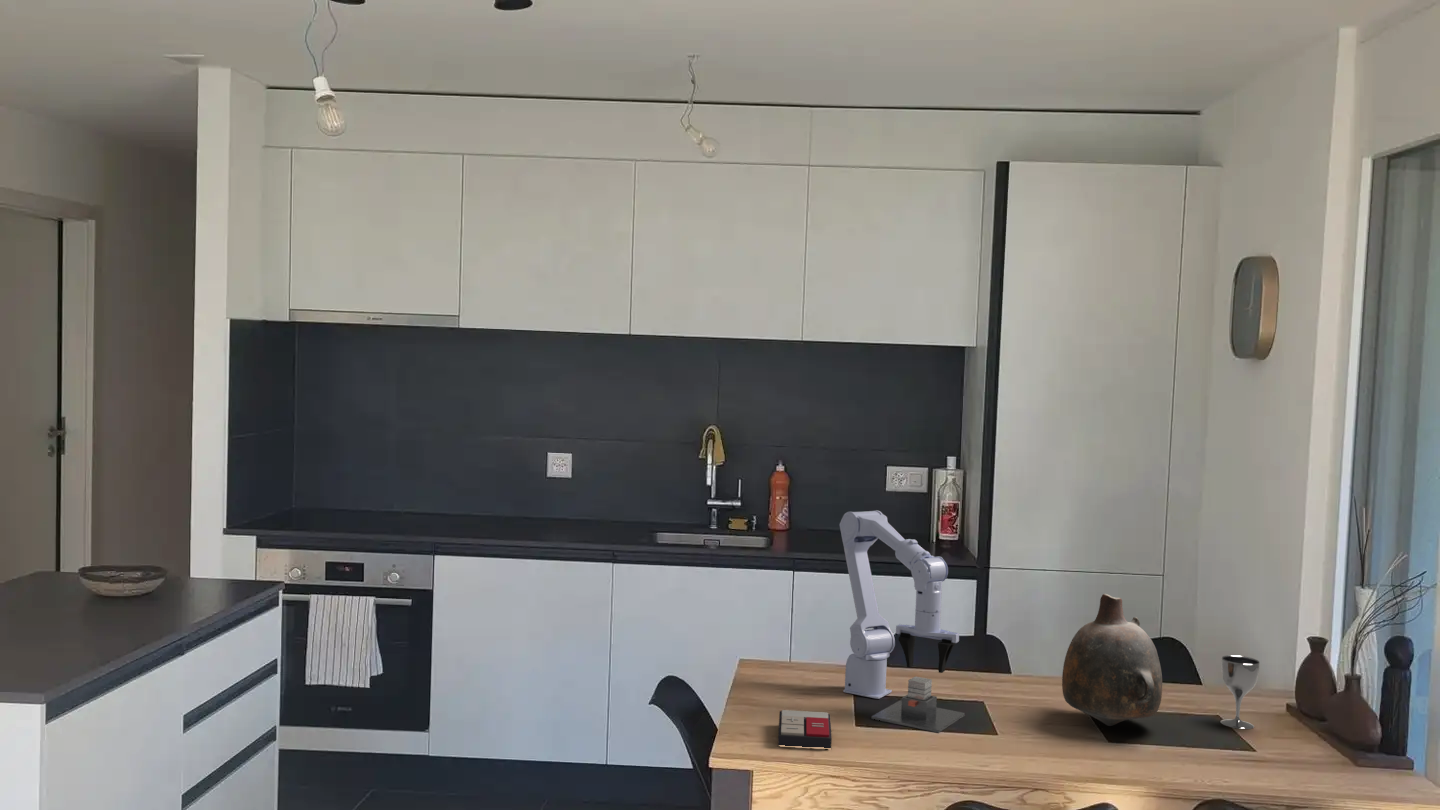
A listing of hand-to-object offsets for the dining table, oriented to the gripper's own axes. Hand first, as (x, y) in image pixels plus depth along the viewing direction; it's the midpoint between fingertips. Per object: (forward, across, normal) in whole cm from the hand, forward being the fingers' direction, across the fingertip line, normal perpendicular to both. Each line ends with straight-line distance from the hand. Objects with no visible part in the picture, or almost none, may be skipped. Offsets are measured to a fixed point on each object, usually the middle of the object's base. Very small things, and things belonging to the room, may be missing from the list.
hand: (925, 669), depth 275 cm
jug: (+11, -37, -19) cm, 43 cm away
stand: (+10, 0, +3) cm, 11 cm away
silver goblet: (+11, -61, -38) cm, 73 cm away
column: (+10, 0, +3) cm, 11 cm away
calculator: (+11, +14, +32) cm, 37 cm away
